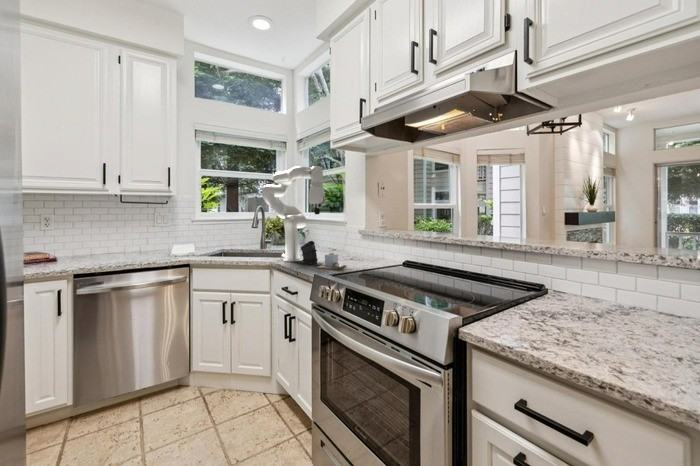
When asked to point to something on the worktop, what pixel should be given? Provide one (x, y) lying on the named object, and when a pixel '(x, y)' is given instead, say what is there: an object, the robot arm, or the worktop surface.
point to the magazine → (309, 253)
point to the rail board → (335, 266)
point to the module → (331, 259)
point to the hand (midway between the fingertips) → (317, 214)
